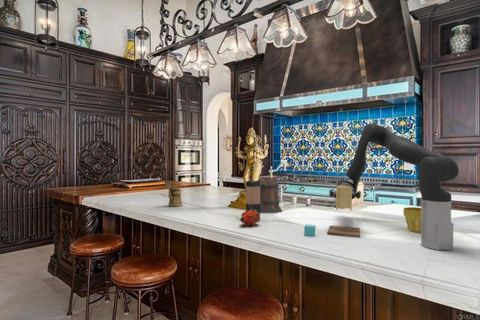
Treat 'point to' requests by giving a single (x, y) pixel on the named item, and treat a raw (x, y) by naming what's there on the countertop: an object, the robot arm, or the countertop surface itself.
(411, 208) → the plant pot
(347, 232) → the walnut board
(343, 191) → the brass cover
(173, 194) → the wooden mug
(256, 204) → the travel mug
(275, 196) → the tankard
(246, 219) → the dragon fruit
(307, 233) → the teal block
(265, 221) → the countertop surface
